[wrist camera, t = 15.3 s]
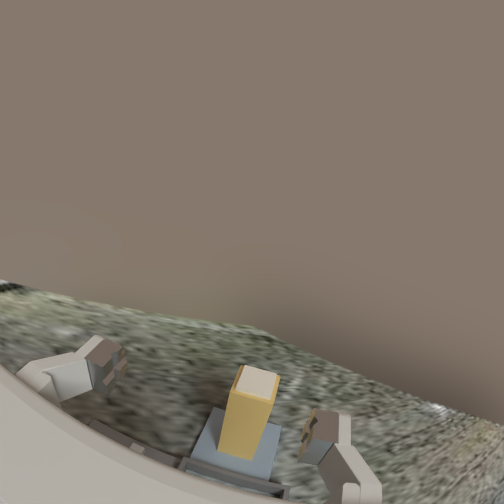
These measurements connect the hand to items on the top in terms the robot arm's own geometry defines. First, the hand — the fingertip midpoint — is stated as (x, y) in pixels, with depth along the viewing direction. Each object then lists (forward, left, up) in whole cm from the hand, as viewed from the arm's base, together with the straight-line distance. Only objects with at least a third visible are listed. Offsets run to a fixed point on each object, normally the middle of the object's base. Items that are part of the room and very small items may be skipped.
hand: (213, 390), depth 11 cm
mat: (+1, +15, -27) cm, 31 cm away
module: (+1, +15, -26) cm, 30 cm away
